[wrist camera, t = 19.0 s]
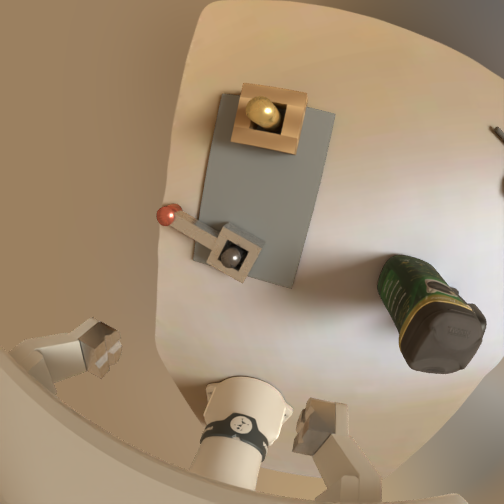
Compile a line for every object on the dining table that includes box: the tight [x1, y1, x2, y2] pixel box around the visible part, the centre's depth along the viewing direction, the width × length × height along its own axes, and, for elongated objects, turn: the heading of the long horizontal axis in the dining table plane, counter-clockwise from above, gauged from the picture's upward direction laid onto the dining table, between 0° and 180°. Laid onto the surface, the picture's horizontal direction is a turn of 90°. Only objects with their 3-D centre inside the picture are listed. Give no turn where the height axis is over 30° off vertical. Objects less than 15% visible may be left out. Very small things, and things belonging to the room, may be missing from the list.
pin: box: [246, 96, 284, 132], centre depth 30 cm, size 3×3×9 cm
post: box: [221, 243, 247, 268], centre depth 39 cm, size 2×2×5 cm
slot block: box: [231, 83, 308, 155], centre depth 32 cm, size 8×8×4 cm
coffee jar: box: [377, 255, 483, 374], centre depth 29 cm, size 10×8×19 cm
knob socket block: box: [157, 204, 266, 283], centre depth 40 cm, size 16×6×3 cm, turn 63°
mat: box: [193, 94, 335, 289], centre depth 38 cm, size 26×16×1 cm, turn 168°
